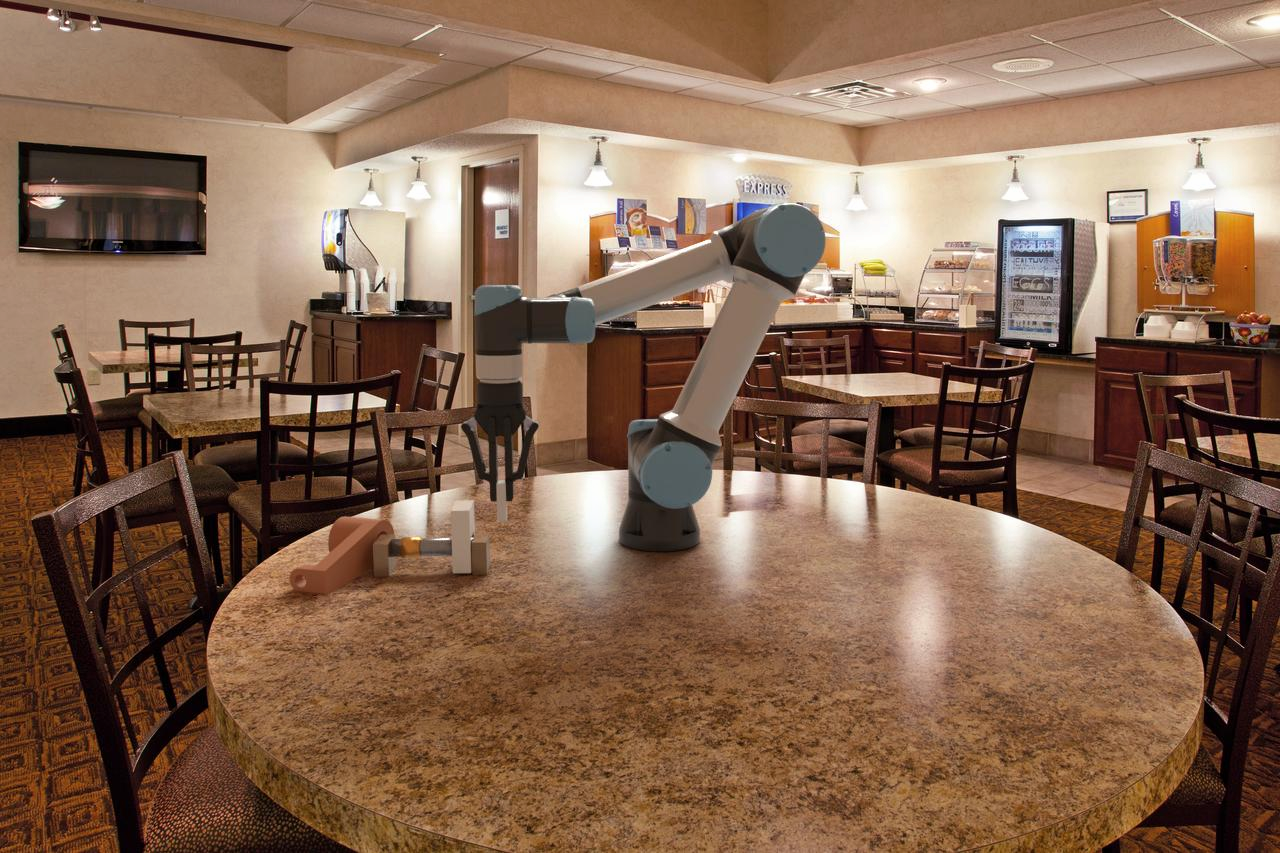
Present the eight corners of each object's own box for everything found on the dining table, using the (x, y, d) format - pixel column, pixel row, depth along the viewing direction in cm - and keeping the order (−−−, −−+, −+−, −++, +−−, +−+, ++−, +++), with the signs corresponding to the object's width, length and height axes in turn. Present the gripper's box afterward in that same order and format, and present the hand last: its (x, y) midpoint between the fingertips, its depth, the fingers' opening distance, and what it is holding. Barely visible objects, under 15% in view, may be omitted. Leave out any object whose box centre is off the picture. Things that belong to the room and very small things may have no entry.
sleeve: (475, 560, 161) (473, 500, 159) (471, 572, 154) (469, 510, 152) (458, 560, 160) (456, 500, 159) (452, 573, 154) (450, 510, 152)
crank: (356, 554, 166) (354, 511, 165) (395, 558, 164) (393, 514, 163) (283, 590, 148) (280, 542, 146) (326, 595, 145) (323, 546, 144)
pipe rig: (490, 563, 160) (489, 531, 159) (487, 574, 154) (486, 541, 154) (381, 565, 159) (380, 533, 158) (374, 577, 153) (372, 543, 152)
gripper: (540, 377, 157) (542, 513, 160) (462, 377, 156) (465, 514, 159) (538, 382, 149) (540, 525, 153) (456, 382, 148) (460, 526, 152)
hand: (502, 519), depth 156 cm, fingers closed
